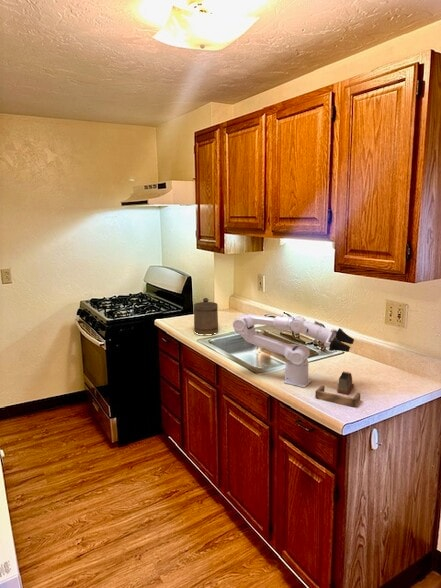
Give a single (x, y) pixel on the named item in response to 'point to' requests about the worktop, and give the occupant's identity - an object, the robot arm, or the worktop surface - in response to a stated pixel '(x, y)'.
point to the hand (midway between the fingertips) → (351, 345)
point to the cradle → (336, 397)
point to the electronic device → (345, 383)
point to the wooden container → (206, 317)
